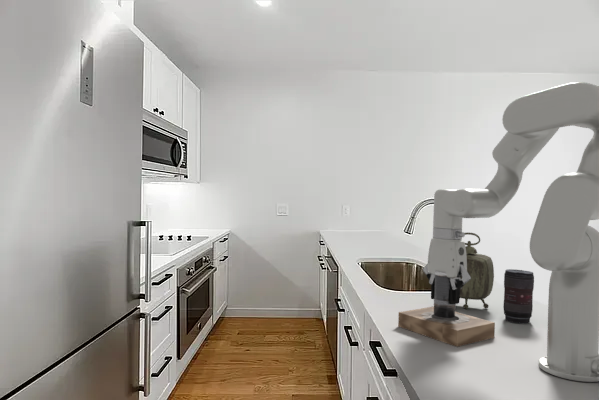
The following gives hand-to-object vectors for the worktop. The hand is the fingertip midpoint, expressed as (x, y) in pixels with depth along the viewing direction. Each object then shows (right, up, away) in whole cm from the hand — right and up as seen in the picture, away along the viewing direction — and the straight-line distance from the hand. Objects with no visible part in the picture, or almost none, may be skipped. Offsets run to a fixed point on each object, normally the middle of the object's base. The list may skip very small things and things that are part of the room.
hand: (444, 300), depth 128 cm
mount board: (0, -9, 0) cm, 9 cm away
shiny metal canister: (0, -4, 0) cm, 4 cm away
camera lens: (+26, -9, +13) cm, 30 cm away
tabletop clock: (+16, -9, +28) cm, 34 cm away
